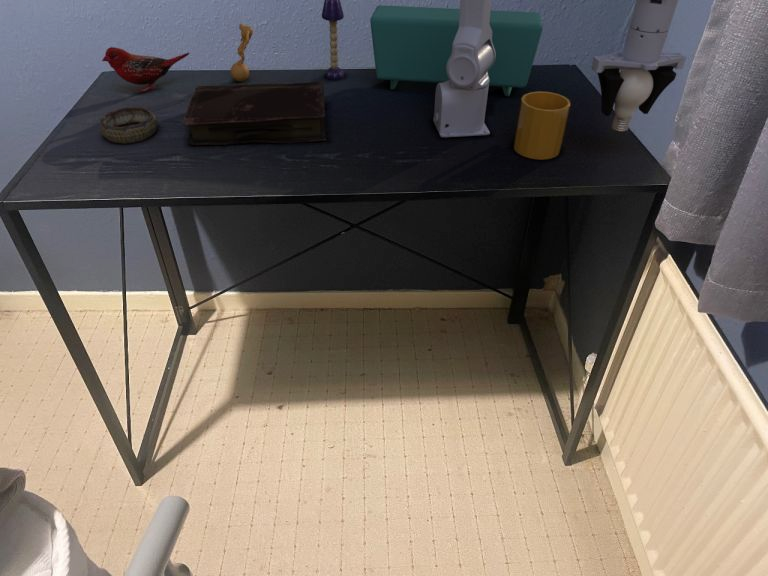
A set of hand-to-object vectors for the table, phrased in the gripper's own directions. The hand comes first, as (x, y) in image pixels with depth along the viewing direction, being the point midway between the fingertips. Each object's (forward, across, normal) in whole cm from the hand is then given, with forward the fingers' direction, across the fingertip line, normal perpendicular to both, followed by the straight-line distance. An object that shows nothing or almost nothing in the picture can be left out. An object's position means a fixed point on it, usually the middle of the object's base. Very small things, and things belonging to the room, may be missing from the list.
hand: (624, 112), depth 96 cm
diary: (+9, -62, +21) cm, 66 cm away
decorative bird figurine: (+9, -85, +41) cm, 95 cm away
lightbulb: (+4, 0, 0) cm, 4 cm away
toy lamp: (+9, -46, +44) cm, 64 cm away
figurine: (+9, -66, +44) cm, 80 cm away
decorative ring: (+9, -86, +20) cm, 89 cm away
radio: (+9, -21, +35) cm, 42 cm away
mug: (+8, -12, +6) cm, 16 cm away
